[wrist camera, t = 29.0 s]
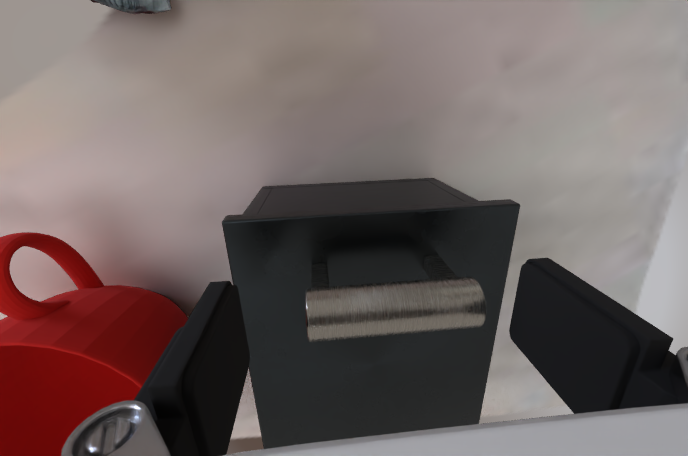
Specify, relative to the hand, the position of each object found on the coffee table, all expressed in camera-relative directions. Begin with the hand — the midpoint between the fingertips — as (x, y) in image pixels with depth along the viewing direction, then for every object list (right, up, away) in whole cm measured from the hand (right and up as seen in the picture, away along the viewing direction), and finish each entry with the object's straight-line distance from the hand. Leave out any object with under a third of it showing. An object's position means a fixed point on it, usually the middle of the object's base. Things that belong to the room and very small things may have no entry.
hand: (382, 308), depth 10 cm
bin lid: (0, -4, +7) cm, 8 cm away
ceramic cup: (-17, -3, +15) cm, 23 cm away
